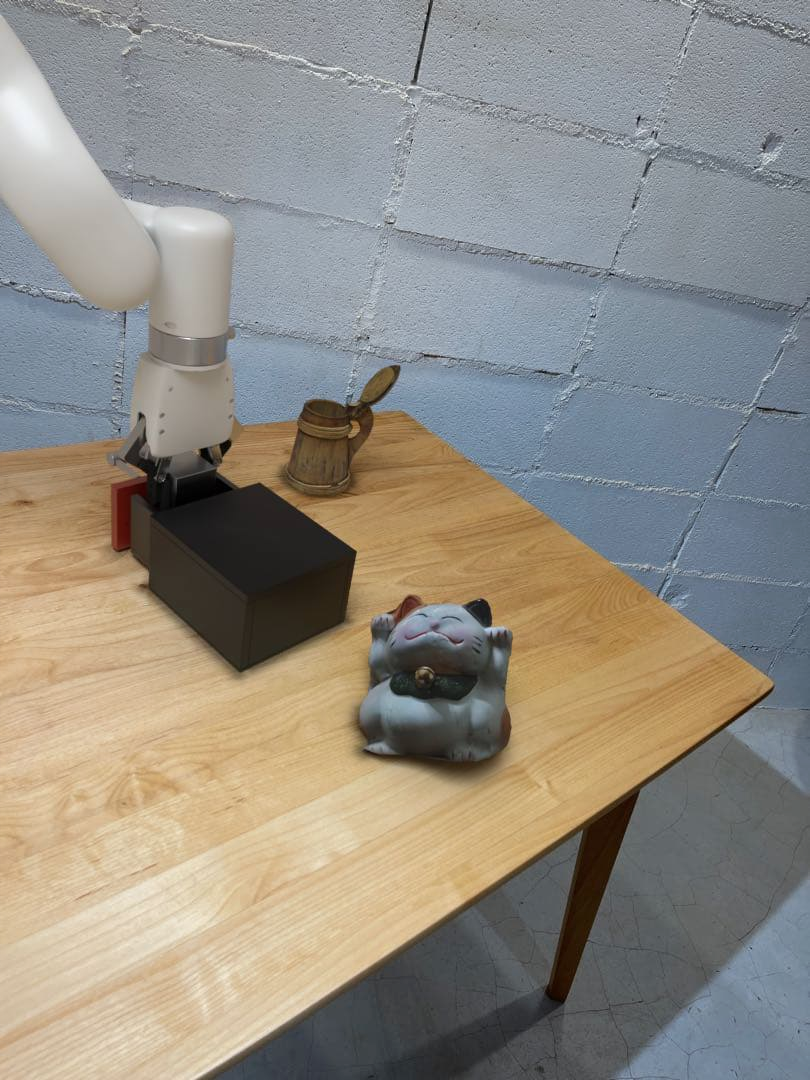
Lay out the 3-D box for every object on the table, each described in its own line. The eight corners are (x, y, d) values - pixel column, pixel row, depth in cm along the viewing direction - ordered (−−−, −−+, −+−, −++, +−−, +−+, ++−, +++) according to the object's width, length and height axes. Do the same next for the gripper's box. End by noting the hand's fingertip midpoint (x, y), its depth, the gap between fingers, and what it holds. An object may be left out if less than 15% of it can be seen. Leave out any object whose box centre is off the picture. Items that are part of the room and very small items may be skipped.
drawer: (84, 521, 93) (82, 456, 89) (179, 494, 102) (181, 433, 98) (187, 614, 83) (191, 546, 79) (283, 575, 92) (291, 512, 87)
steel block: (149, 498, 89) (149, 458, 87) (188, 487, 93) (189, 448, 90) (175, 519, 87) (176, 478, 84) (214, 507, 90) (216, 467, 88)
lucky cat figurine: (328, 746, 73) (340, 592, 72) (384, 716, 84) (395, 582, 83) (488, 783, 67) (504, 616, 66) (526, 745, 78) (539, 602, 77)
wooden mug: (385, 501, 112) (409, 379, 102) (286, 497, 108) (302, 369, 99) (373, 469, 119) (394, 352, 110) (280, 464, 115) (294, 342, 106)
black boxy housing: (148, 592, 86) (149, 514, 81) (252, 554, 96) (259, 482, 91) (239, 677, 78) (247, 596, 73) (343, 625, 88) (357, 551, 83)
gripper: (235, 320, 88) (224, 468, 97) (87, 339, 76) (91, 505, 86) (280, 345, 84) (264, 497, 94) (130, 369, 72) (130, 539, 82)
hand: (181, 499), depth 90 cm, fingers closed on steel block, 5 cm apart
